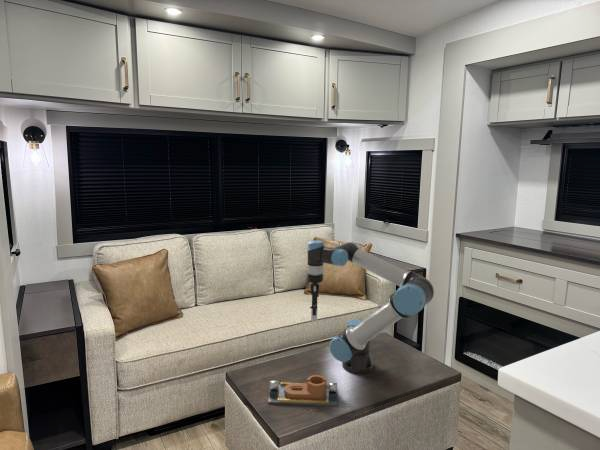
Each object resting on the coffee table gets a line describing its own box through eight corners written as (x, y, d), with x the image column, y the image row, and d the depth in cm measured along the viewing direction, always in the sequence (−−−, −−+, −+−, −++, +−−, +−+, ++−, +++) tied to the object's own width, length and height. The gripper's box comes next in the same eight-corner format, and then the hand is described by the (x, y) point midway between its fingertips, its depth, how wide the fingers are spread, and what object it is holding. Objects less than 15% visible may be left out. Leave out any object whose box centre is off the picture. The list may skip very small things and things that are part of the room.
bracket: (325, 389, 180) (325, 375, 179) (326, 400, 172) (326, 385, 171) (284, 388, 180) (285, 374, 179) (283, 399, 172) (283, 384, 171)
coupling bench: (336, 388, 183) (336, 375, 182) (337, 406, 170) (337, 392, 169) (271, 386, 184) (271, 373, 183) (268, 403, 171) (268, 389, 170)
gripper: (307, 265, 206) (307, 305, 209) (306, 280, 181) (305, 325, 185) (322, 266, 205) (321, 306, 209) (323, 281, 181) (322, 326, 184)
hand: (314, 315), depth 197 cm, fingers open, 13 cm apart
